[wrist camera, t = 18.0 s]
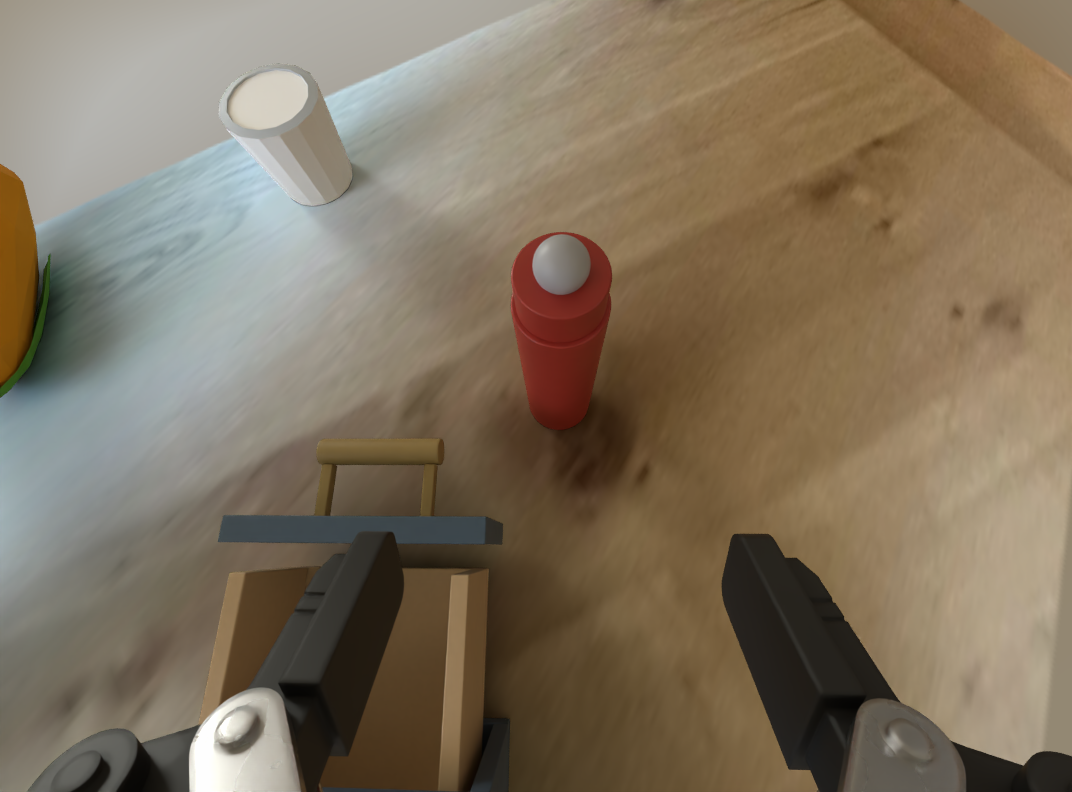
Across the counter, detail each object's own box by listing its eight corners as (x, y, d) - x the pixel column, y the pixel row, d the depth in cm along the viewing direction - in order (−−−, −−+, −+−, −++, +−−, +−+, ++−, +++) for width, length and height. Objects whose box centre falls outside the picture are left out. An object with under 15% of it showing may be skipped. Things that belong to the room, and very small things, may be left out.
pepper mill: (516, 401, 30) (474, 248, 15) (558, 361, 31) (561, 177, 16) (559, 442, 29) (562, 325, 14) (601, 400, 30) (650, 245, 15)
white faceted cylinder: (365, 144, 38) (324, 59, 31) (354, 211, 36) (308, 135, 29) (285, 146, 38) (228, 63, 32) (270, 213, 36) (206, 139, 30)
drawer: (311, 454, 29) (241, 428, 23) (505, 453, 28) (490, 427, 22) (252, 816, 23) (134, 921, 17) (494, 825, 23) (469, 937, 16)
